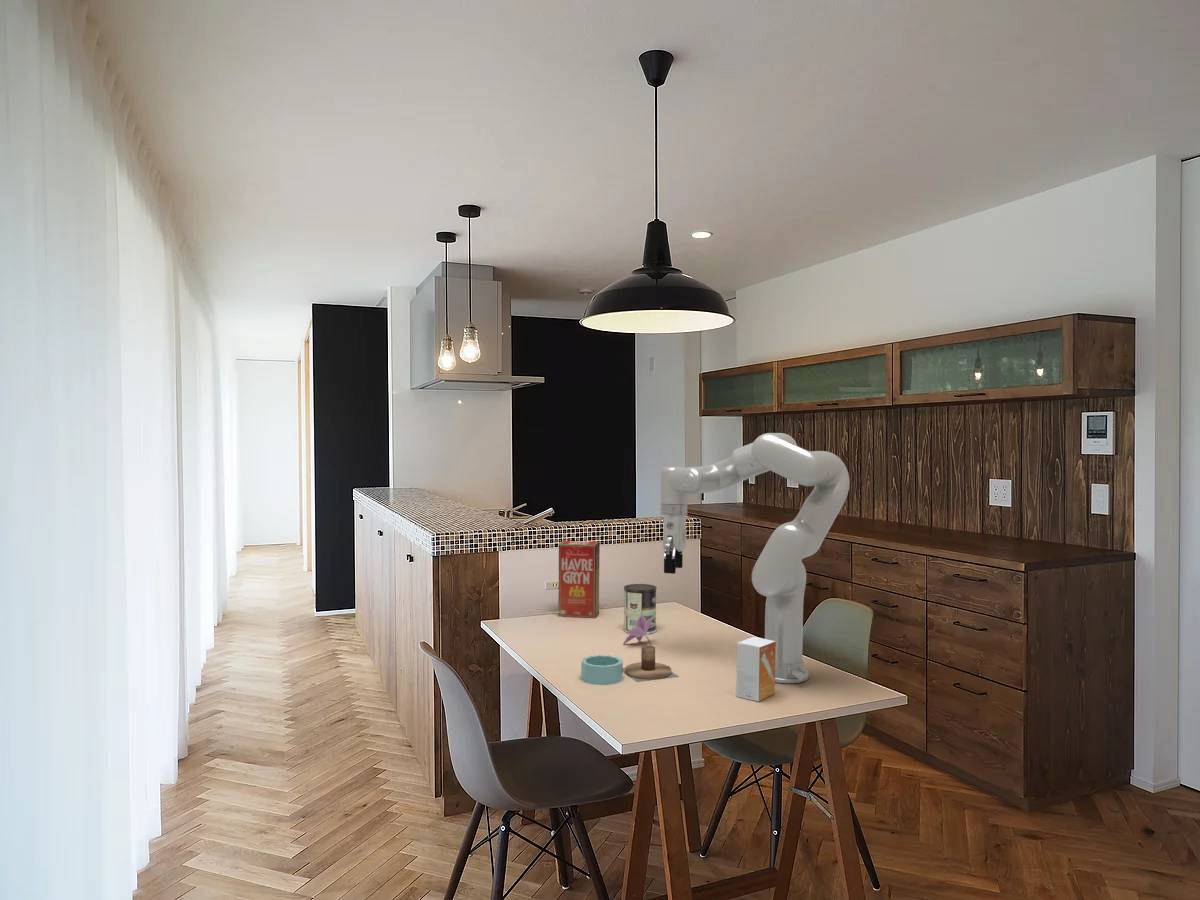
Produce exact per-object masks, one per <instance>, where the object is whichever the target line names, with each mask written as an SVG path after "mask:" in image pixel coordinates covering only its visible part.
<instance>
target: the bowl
mask: <svg viewBox="0 0 1200 900" xmlns="http://www.w3.org/2000/svg"><path fill="white" fill-rule="evenodd" d="M623 662H624V660H623V659H622V658H620V657H618V656H615V655H614V656H613V655H609V654H608V655H606V654H604V655H603V654H597V655H590V656H586V657H583V658H582V660H581V666H580V667H581V673H580V675H581V676H580V677H581V681H583V682H584V683H588V684H591V685H599V686H600V685H602V686H608V685H614V684H618V683H620V682H622V680H623V678H624V677H623V674H624V673H623V668H624V667H623V665H624V663H623Z"/></svg>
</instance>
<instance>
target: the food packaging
mask: <svg viewBox="0 0 1200 900" xmlns="http://www.w3.org/2000/svg"><path fill="white" fill-rule="evenodd" d="M600 552H601V551H600V541H585V540H584V541H579V540H578V541H577V540H562V542H561V543H559V544H558V602H557V603H558V605H557V606H558V609H557V610H558V616H557V617H559V616H562V617H563V618H583V619H587V618H589V619H596V618H597V617H598V615H599V614H600V555H601V554H600ZM562 617H561V618H562Z"/></svg>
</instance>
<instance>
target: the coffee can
mask: <svg viewBox="0 0 1200 900" xmlns="http://www.w3.org/2000/svg"><path fill="white" fill-rule="evenodd" d="M623 590H624V594H623V595H624V600H623V602H624V606H623V607H624V609H623V612H624V614H623V615H624V620H623V621H624V622H623V623H624V625H623V626H624V627H623V631H624V633H627V632H628V631H630V630H632V629H633V628H635V624H636V622H637V620H638V618H639V617H640V616H641V615H643V616H644V617H645V619H646V621H647V620H648V619H649V618H651V617H653V616H654V615H656V616H655V617H654V619H653V620H652V622H653V623H655V625H654V626H653V627H651V628H649V629H648V630H647V634H646V635H651V634H654V633H656V631H657V627H656V625H657V621H656V620H657V613H656V612H657V585H656V586H655V585H652V584H648V583H646V584H645V583H633V584H632V583H629V584H626V585H624V586H623Z"/></svg>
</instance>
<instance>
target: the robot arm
mask: <svg viewBox="0 0 1200 900" xmlns="http://www.w3.org/2000/svg"><path fill="white" fill-rule="evenodd" d="M731 454H732V455H731V456H729V457H728V458H725V459H723V460H721V461H718V462H715V463H713V464H709V465H702V466H701V465H700V466H699V465H698V466H687V467H684V466H675V465H674V466H663V468H661V471H660V516H663V526H662V527H663V528H662V529H663V531H662V536H663V537H662V546H663V548H662V549H663V550H664V555H663V558H664V559H663V573H664V574H673V575H675V574H676V570H677V569H682V568H683V565H684V564H683V560H684V559H683V558H684V557H683V550H684V549H686V548H687V539H686V538H687V535H686V534H687V532H686V529H687V528H686V516H688V494H690V495H699V494H707V493H714V492H717V491H719V490H722V489H725V488H729V487H730V486H734V485H736V484H738V483H742V482H744V481H746V480H748V479H750V478H753V477H757V476H758V475H761V474H764V473H767V472H770V471H771V472H773V473H775V474H777V475H779V476H781V477H782V478H785V479H788V480H789V481H791V482H792V483H796V484H797V485H800V486H804V487H813V490H812V491H811V493H810V494H809V495H808V496H807V498H806V499H805V500H804V502H803V504H802V507H801V509H799V512H798V513H797V515H796V516H795V518H794V519H792V520H791V521H788V522H785V523H783V524H781V525H779V526H778V527H777V528H775V530H774V531H773V532H772V534H770V536H769V538H768V540H767V542H766V543H765V546H764V547H763V550H762V551H761V553H760V555H759V557H758V558H757V560H756V562H755V564H754V566H753V568H752V571H751V583H752V586H753V587H754V589H755V591H756V592H757V593H758V594H759V595H761V596H764V597H766V601H765V610H764V614H765V615H764V639H768V640H773V641H776V653H775V683H779V684H799V683H803V682H805V681H807V680H808V679H809V674H810V672H809V671H808V670H806V669H805V663H804V662H803V645H804V644H803V639H804V638H803V637H804V635H803V634H804V633H803V631H804V629H803V625H804V624H803V623H804V598H805V593H806V592H805V590H806V586H807V585H806V583H807V571H806V567H805V565H804V563H803V559H805V558H808V557H811V556H814V554H816V553H817V552H818V550H820V548H821V545H822V543H823V542H824V540H825V539H826V536H827V535H828V532H829V531H830V530H831V527H832V526H833V524H834V522H835V520H836V519H837V517H838V515H839V512H841V509H842V507H843V505H844V503H845V501H846V500H847V497H848V495H849V494H848V493H849V490H850V482H851V481H850V475H849V474H850V473H849V472H848V469H847V467H846V465H845V463H844V461H843V460H842V459H841V457H839V456H838V455H836V454H834V453H832V452H830V451H827V450H826V451H825V450H813V451H810V450H807V449H805V448H802V447H800V446H798V444H797V442H796V440H795V439H794V438H793V437H792V436H791V435H789V434H787V433H783V432H767V433H762V434H761V435H759V436H757V438H756V439H755V440H754V441H753V442H751V443H748V444H746V445H744V446H741V447H737V448H736V449H734V450H733V452H732V453H731Z"/></svg>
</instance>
